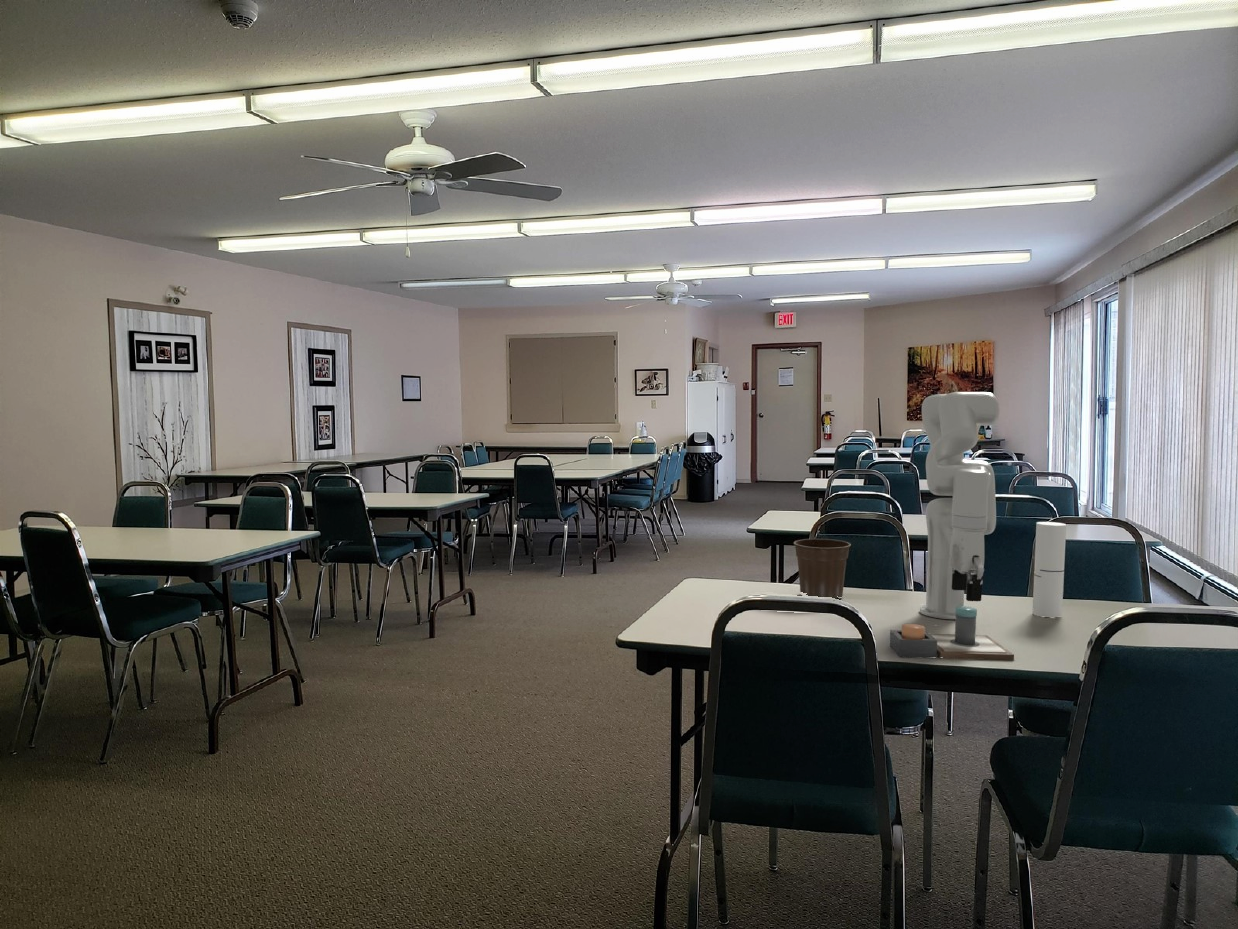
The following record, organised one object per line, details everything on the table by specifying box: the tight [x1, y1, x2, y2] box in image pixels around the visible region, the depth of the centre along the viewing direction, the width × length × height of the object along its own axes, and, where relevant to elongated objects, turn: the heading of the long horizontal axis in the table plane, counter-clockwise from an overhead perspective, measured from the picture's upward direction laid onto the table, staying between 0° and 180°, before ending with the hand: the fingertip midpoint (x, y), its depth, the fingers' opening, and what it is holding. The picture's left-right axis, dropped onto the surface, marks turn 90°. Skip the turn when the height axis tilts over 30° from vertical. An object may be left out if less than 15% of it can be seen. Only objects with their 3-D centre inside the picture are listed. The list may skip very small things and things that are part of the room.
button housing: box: [889, 629, 938, 658], centre depth 191 cm, size 8×8×4 cm
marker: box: [954, 605, 978, 645], centre depth 194 cm, size 5×5×8 cm
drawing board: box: [929, 633, 1015, 661], centre depth 195 cm, size 16×16×2 cm
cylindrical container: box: [1032, 521, 1067, 617], centre depth 227 cm, size 7×7×25 cm
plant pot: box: [793, 538, 852, 600], centre depth 246 cm, size 16×16×16 cm
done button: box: [901, 623, 926, 639], centre depth 191 cm, size 5×5×4 cm
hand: (966, 595), depth 195 cm, fingers open, 9 cm apart
